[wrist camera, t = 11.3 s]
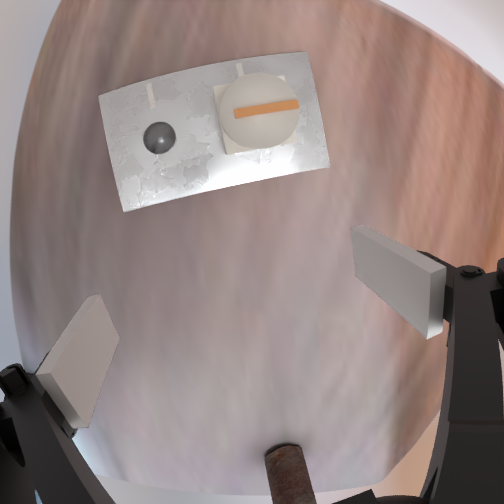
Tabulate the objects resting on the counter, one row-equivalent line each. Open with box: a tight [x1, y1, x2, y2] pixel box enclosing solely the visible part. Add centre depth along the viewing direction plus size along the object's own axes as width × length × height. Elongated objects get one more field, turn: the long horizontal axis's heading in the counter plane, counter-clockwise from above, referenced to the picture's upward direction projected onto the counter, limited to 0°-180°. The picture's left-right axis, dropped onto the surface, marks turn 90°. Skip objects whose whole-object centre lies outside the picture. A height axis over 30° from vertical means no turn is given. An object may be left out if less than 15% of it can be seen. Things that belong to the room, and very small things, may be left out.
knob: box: [213, 73, 300, 155], centre depth 29 cm, size 7×7×8 cm
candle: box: [265, 446, 317, 504], centre depth 42 cm, size 8×7×20 cm
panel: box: [98, 52, 330, 212], centre depth 31 cm, size 24×14×4 cm, turn 101°
